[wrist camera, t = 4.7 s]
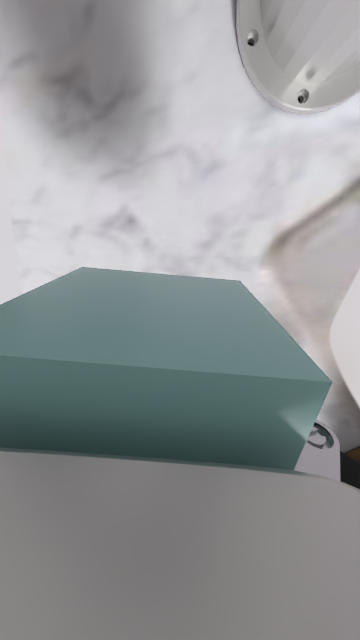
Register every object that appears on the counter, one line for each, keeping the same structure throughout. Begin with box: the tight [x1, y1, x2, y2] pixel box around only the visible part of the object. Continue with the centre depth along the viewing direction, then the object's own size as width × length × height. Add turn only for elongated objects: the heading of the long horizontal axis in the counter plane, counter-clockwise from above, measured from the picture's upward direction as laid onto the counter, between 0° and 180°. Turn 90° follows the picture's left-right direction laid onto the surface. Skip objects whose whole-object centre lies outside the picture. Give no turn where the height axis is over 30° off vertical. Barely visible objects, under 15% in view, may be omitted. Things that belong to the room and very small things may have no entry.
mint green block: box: [0, 267, 332, 470], centre depth 9 cm, size 8×8×8 cm
